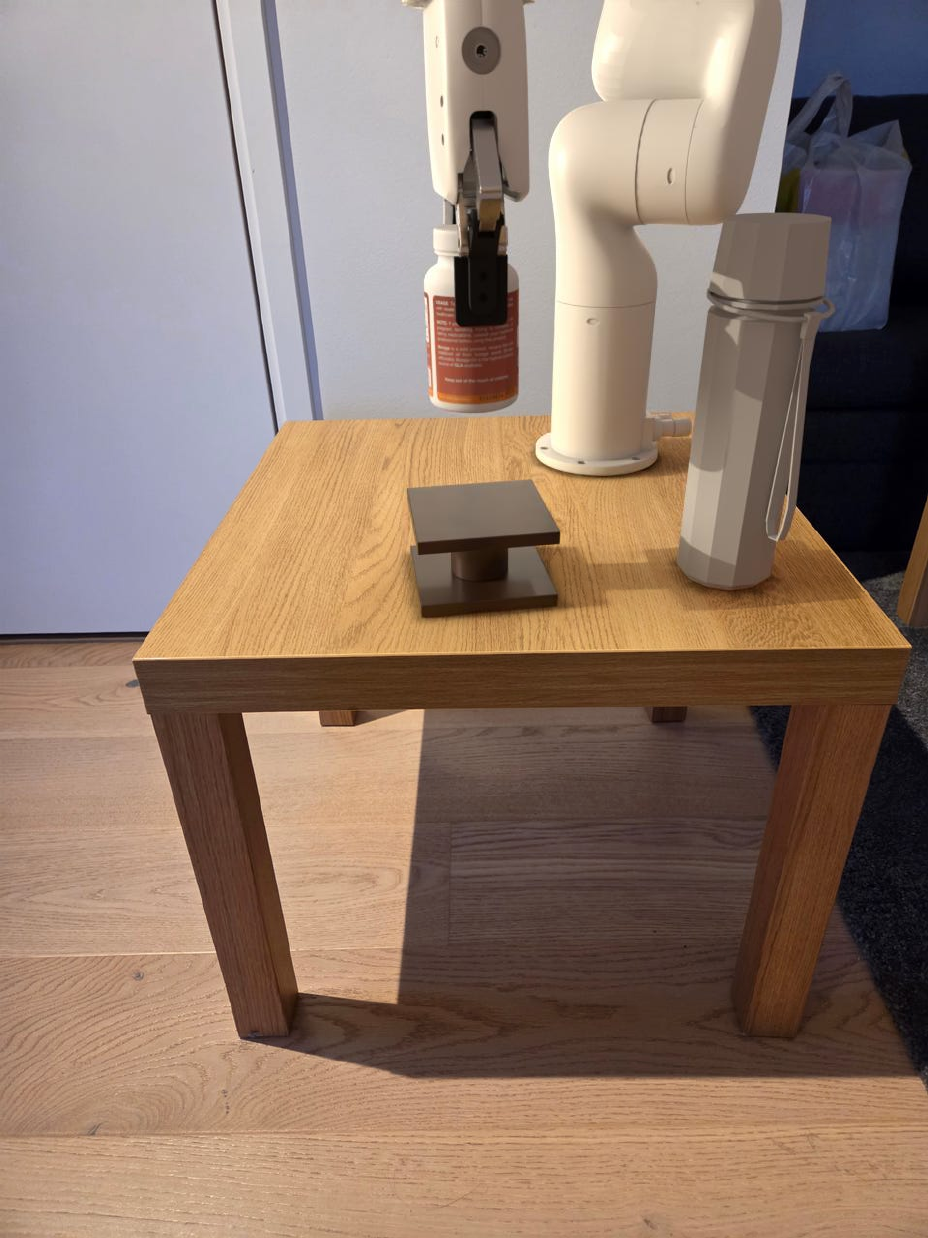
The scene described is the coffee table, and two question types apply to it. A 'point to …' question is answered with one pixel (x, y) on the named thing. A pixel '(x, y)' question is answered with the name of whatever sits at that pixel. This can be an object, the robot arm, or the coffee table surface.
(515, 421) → the coffee table surface
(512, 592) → the stand
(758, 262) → the water bottle
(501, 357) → the pill bottle
